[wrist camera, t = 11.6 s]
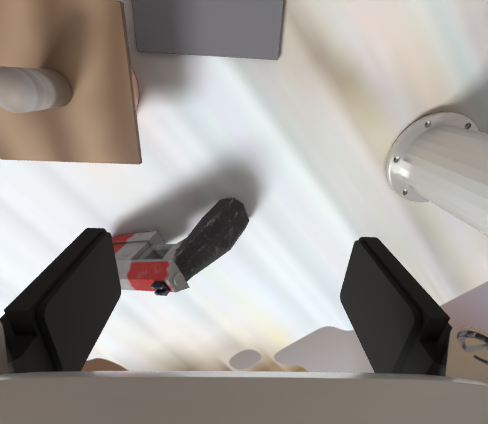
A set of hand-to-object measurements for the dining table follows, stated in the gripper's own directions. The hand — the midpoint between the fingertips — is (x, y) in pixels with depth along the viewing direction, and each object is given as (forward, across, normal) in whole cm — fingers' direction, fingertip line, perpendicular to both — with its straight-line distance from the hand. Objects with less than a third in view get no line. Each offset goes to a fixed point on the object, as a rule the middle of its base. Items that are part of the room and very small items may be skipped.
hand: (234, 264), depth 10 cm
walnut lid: (+20, +17, -5) cm, 27 cm away
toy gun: (+28, +9, +15) cm, 33 cm away
